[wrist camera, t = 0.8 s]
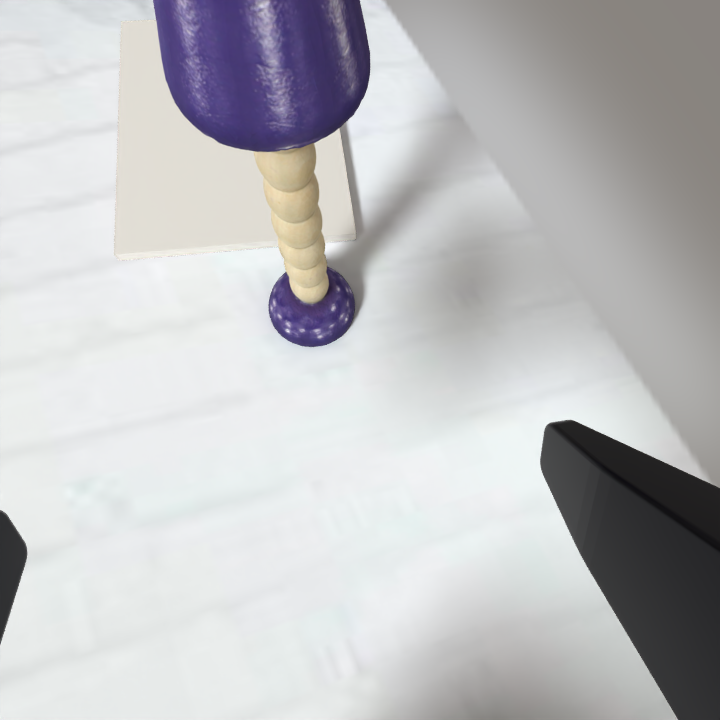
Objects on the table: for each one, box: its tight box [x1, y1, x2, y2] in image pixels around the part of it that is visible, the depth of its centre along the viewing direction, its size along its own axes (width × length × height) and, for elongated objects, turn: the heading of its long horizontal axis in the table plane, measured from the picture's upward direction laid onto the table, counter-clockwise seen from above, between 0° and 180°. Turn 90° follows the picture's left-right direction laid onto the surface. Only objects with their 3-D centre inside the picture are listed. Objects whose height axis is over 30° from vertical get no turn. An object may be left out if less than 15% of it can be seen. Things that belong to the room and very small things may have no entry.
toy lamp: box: [153, 0, 370, 347], centre depth 15 cm, size 5×5×17 cm
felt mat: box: [114, 20, 356, 261], centre depth 26 cm, size 16×12×1 cm
